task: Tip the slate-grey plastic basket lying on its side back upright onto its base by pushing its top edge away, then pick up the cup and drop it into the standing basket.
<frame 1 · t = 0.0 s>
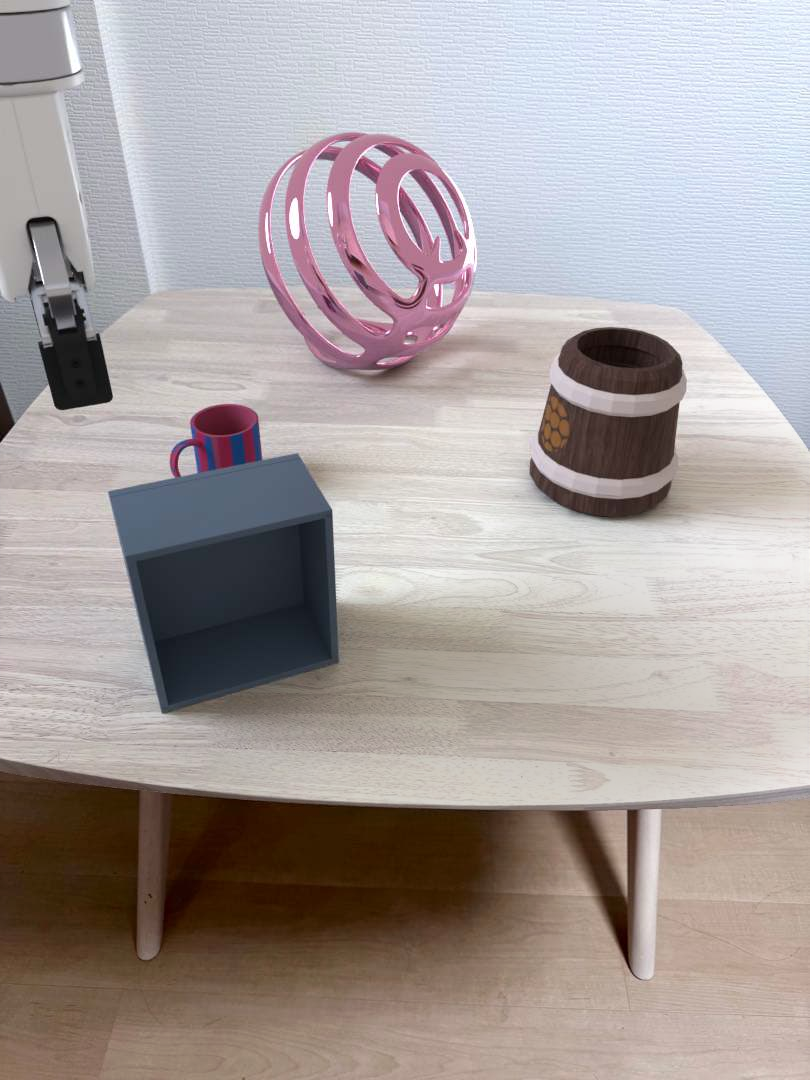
hand: (75, 368, 52), 25 cm above the table, tool pointing down, fingers open, 9 cm apart
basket: (240, 652, 68), on the table
mug: (592, 469, 91), on the table
spiral basket: (374, 357, 112), on the table
cup: (218, 484, 88), on the table
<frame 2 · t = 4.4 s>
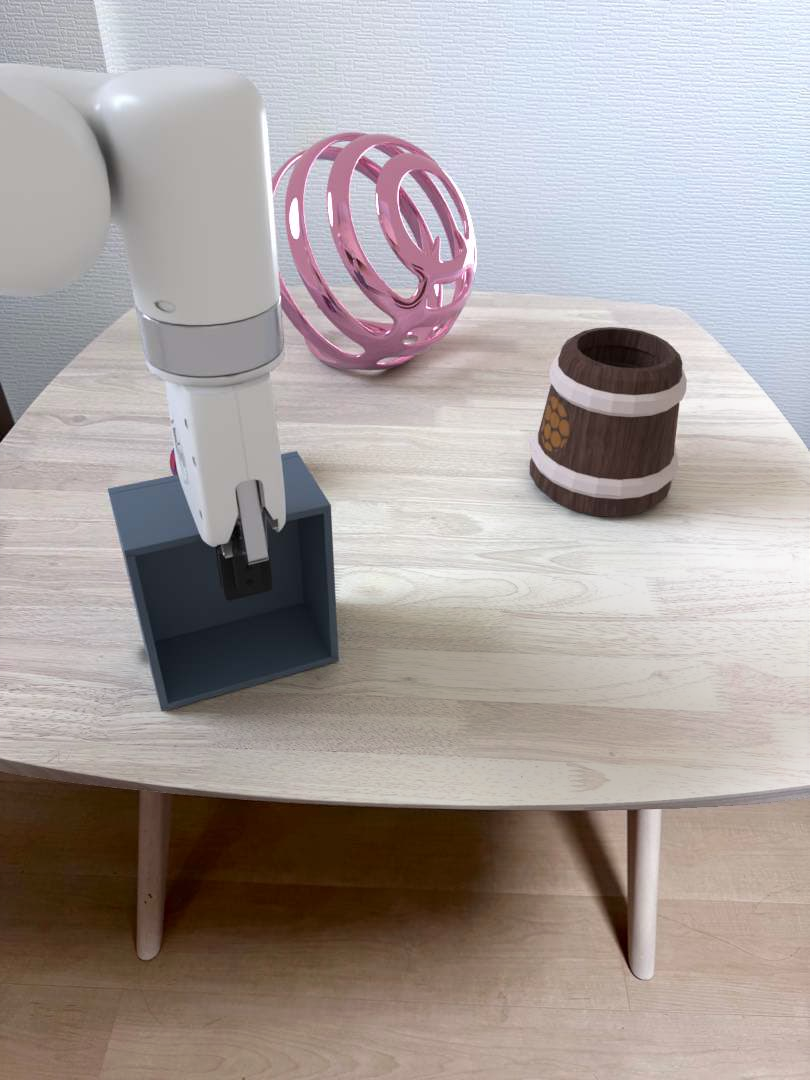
hand: (246, 588, 57), 12 cm above the table, tool pointing down, fingers closed
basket: (240, 652, 68), on the table, touching gripper
everything else where it was.
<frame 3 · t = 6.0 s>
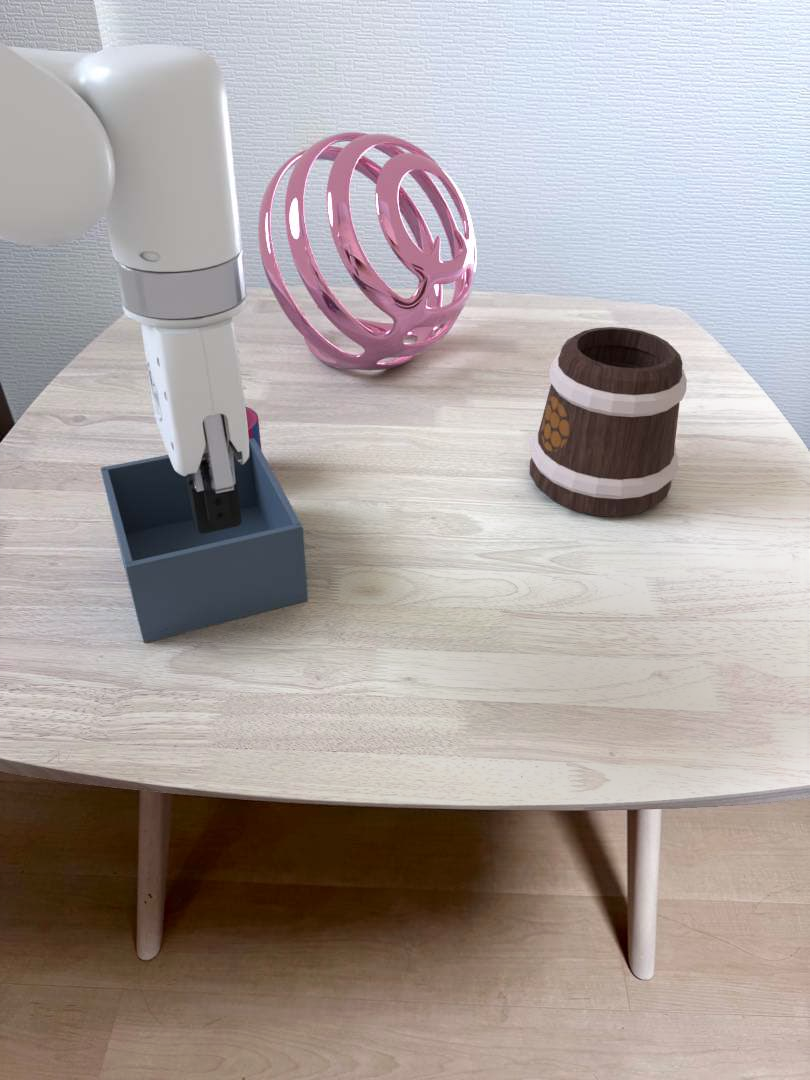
hand: (218, 523, 63), 12 cm above the table, tool pointing down, fingers closed
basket: (223, 585, 69), point 4 cm above the table, tilted 90°
everything else where it was.
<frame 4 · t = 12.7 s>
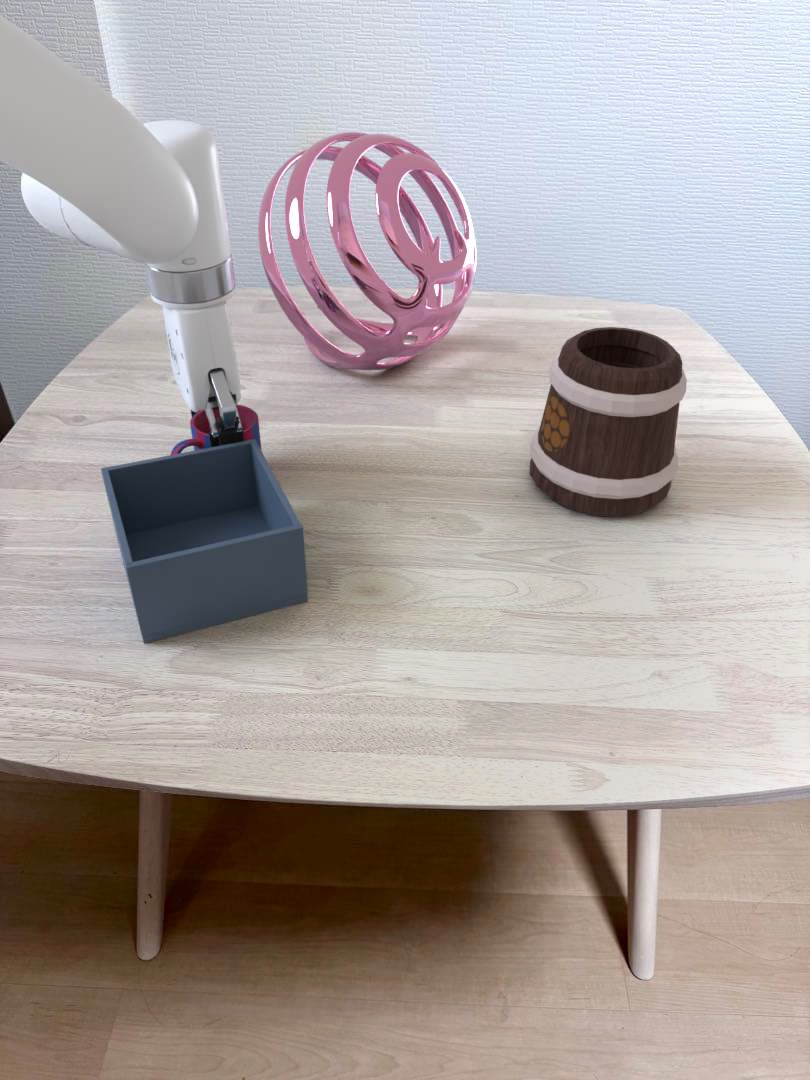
hand: (218, 440, 86), 4 cm above the table, tool pointing down, fingers open, 9 cm apart
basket: (223, 585, 69), point 4 cm above the table, tilted 90°, touching gripper
everything else where it was.
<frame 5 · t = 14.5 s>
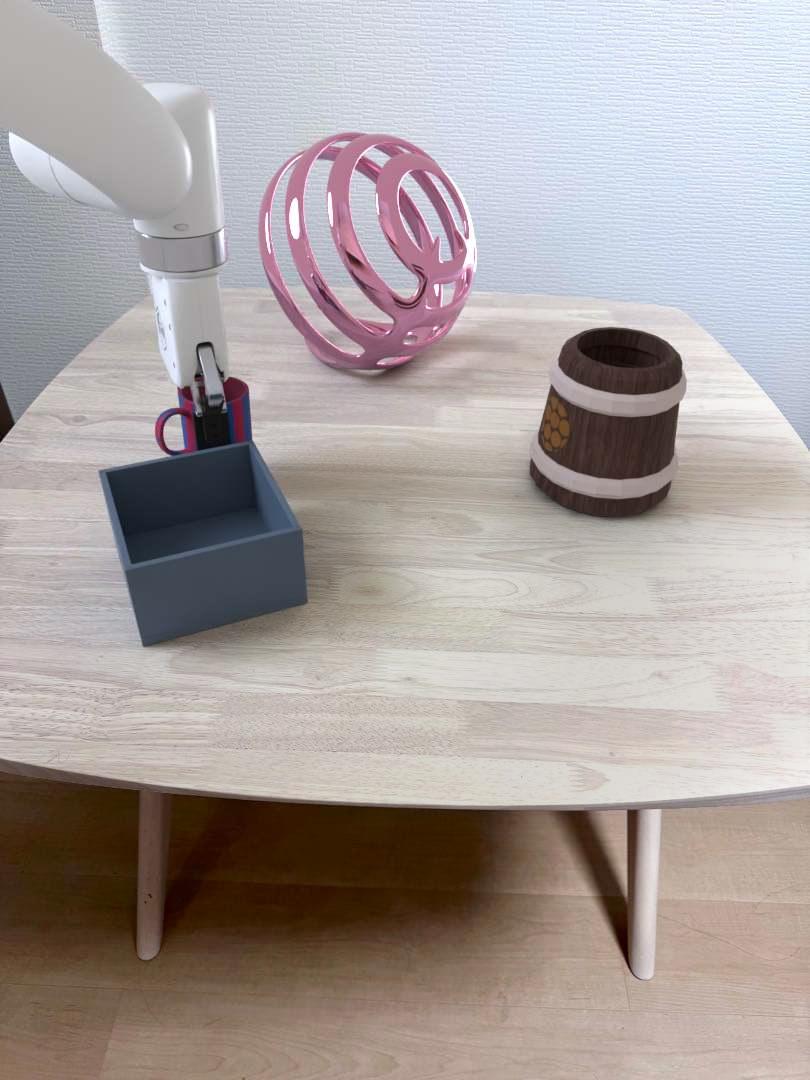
hand: (205, 429, 83), 7 cm above the table, tool pointing down, fingers closed on cup, 6 cm apart
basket: (222, 588, 68), point 4 cm above the table, tilted 90°
cup: (205, 458, 84), point 4 cm above the table, touching gripper
everything else where it was.
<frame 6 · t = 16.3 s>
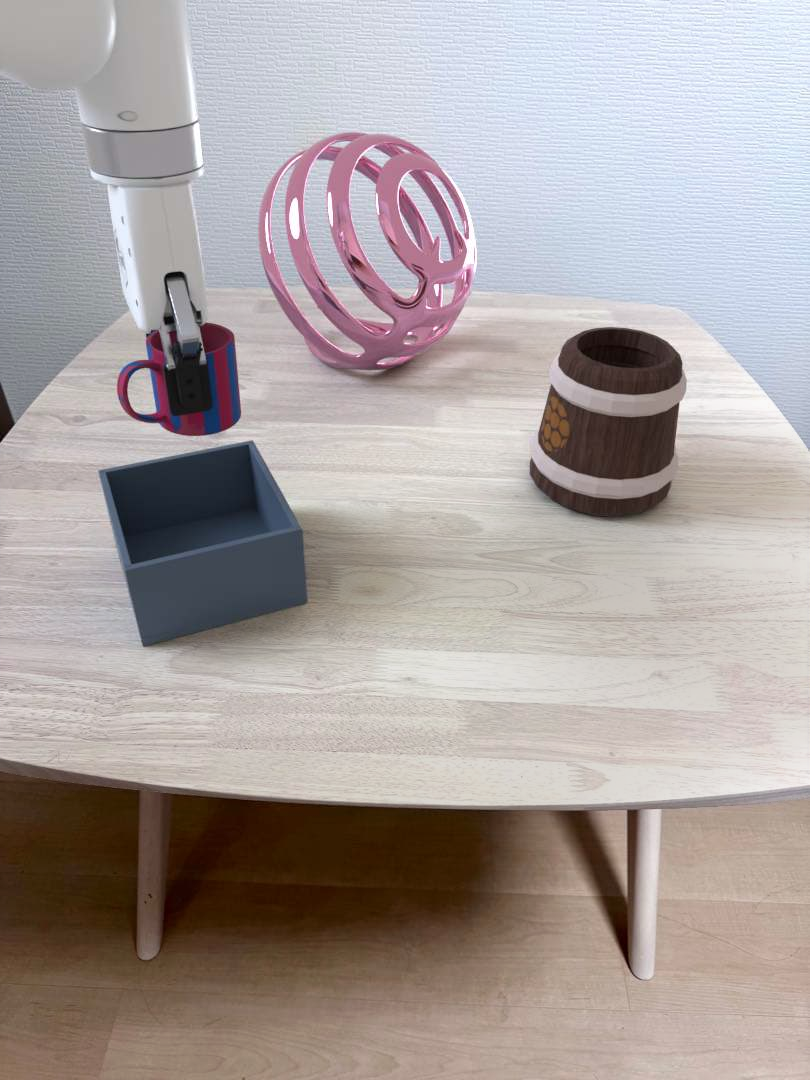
hand: (181, 388, 67), 17 cm above the table, tool pointing down, fingers closed on cup, 6 cm apart
cup: (182, 424, 69), point 14 cm above the table, touching gripper
everything else where it was.
when the fingers open (7 cm above the table, at t = 19.5 s): cup drops 4 cm, resting on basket.
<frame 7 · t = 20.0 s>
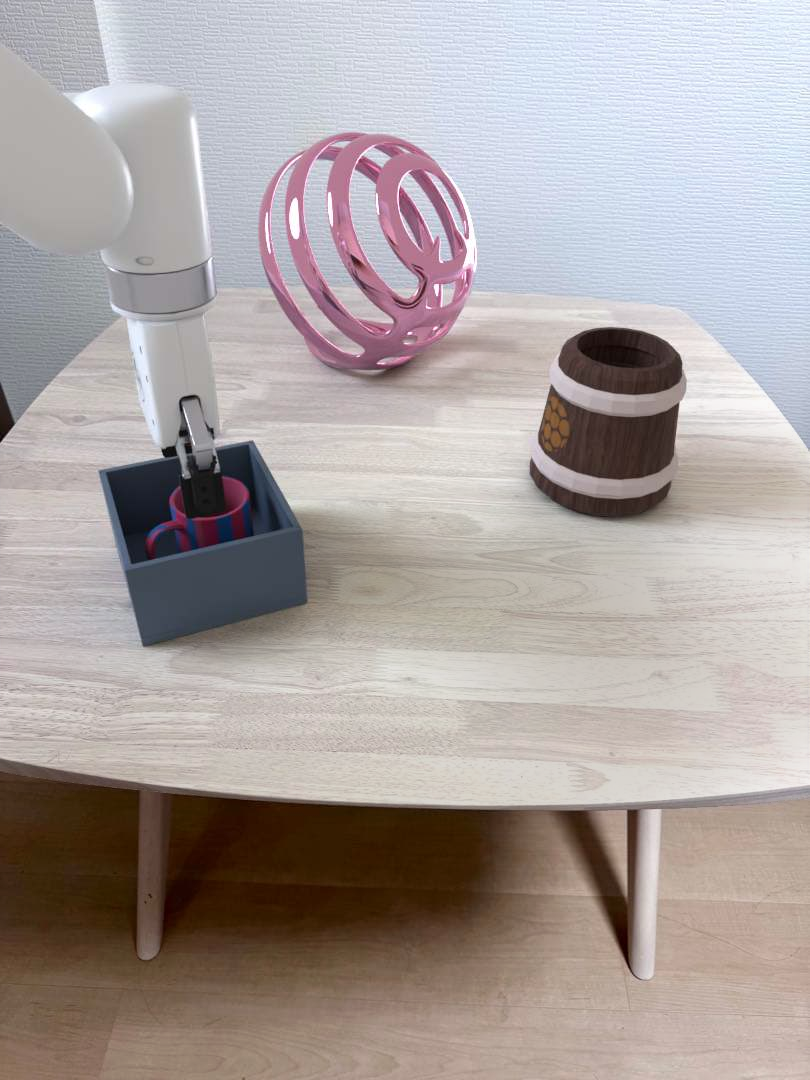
hand: (193, 482, 71), 9 cm above the table, tool pointing down, fingers open, 9 cm apart
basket: (222, 587, 68), point 4 cm above the table, tilted 90°, touching cup
cup: (203, 567, 76), point 1 cm above the table, touching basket
everything else where it was.
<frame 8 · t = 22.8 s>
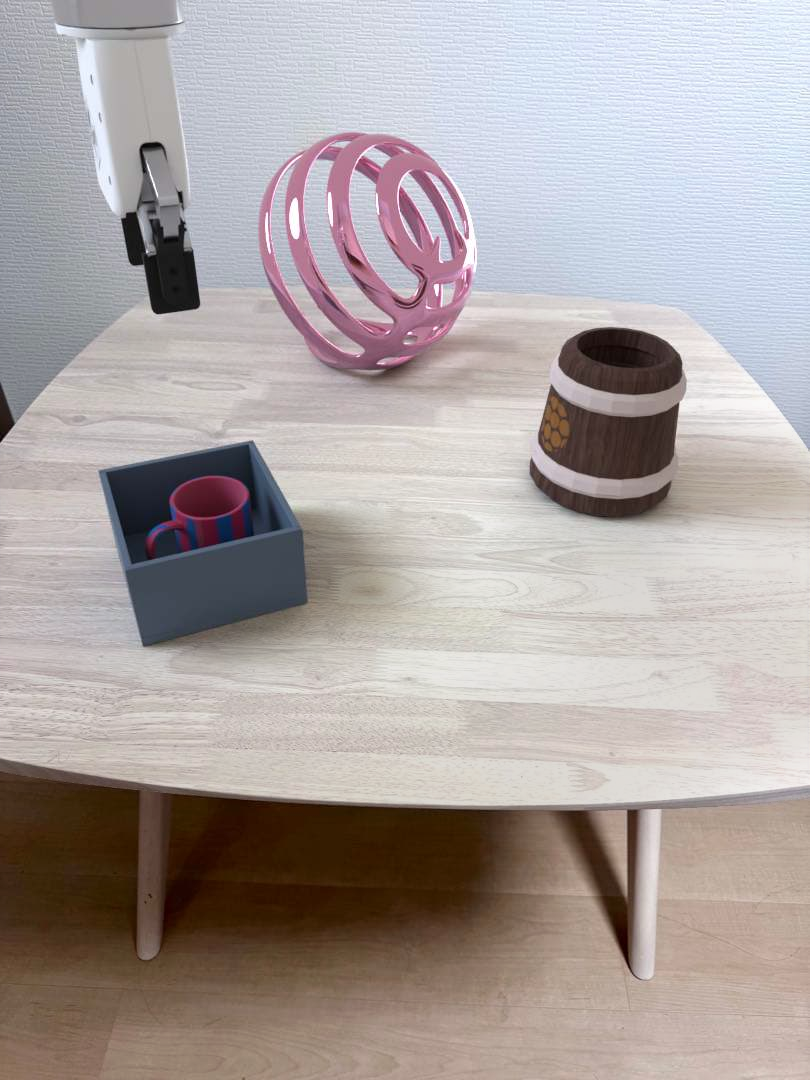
hand: (163, 285, 61), 26 cm above the table, tool pointing down, fingers open, 9 cm apart
nothing on the table moved.
at the end: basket tilted 90°; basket point 4.0 cm above the table; cup inside the target area on the table beside the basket (0.4 cm from its centre), resting in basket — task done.
